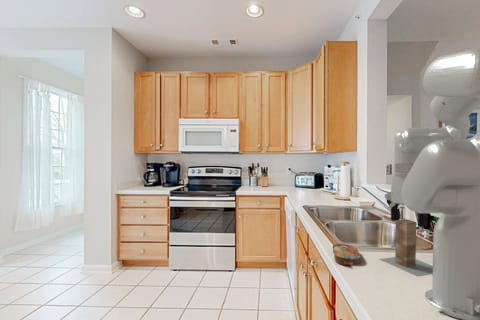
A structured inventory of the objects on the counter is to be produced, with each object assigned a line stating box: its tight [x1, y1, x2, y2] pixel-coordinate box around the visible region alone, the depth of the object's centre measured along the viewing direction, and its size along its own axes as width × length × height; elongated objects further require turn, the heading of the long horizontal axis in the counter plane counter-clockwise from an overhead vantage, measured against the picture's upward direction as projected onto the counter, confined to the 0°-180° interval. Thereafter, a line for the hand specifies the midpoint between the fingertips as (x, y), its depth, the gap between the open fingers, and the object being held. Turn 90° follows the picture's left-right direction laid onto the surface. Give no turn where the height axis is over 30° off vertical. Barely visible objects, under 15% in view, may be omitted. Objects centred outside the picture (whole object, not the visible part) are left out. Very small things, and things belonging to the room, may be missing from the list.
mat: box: [379, 256, 433, 277], centre depth 89 cm, size 14×12×1 cm
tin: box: [332, 243, 362, 266], centre depth 96 cm, size 15×3×8 cm
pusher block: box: [394, 219, 417, 267], centre depth 89 cm, size 4×4×14 cm
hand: (408, 223), depth 88 cm, fingers open, 9 cm apart
